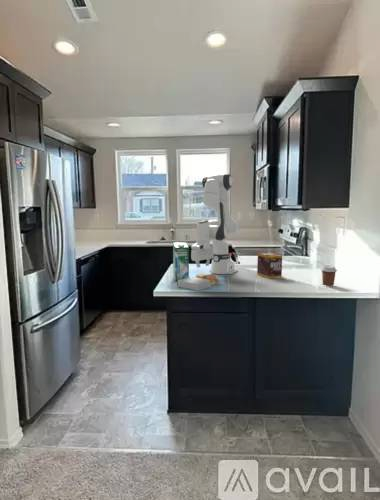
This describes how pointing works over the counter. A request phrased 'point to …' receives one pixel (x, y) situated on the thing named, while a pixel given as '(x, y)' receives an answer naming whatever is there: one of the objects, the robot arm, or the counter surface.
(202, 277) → the beige stepped block
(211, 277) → the salmon pink cube
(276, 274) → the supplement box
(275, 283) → the counter surface
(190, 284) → the block
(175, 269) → the milk carton
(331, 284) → the coffee cup
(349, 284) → the counter surface
